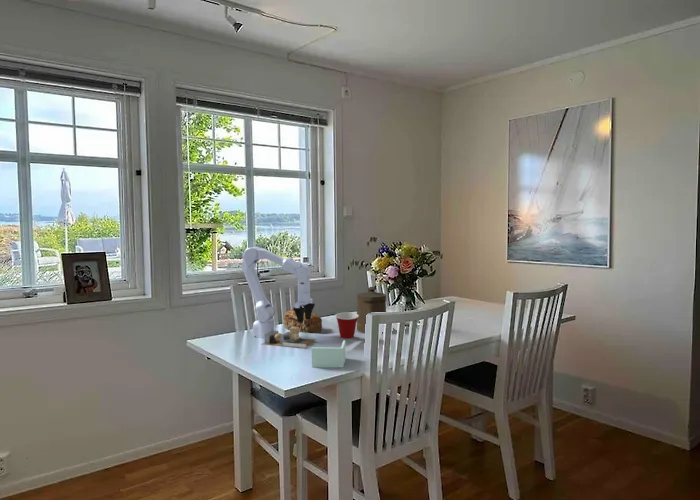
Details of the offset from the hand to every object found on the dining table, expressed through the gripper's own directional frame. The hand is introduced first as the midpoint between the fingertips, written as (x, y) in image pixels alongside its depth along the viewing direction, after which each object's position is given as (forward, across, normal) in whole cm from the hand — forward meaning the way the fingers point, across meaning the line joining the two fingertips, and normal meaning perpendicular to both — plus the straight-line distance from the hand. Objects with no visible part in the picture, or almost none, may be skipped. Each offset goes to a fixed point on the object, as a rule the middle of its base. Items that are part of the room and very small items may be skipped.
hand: (304, 320), depth 229 cm
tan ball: (+8, -11, +7) cm, 15 cm away
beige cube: (+8, -11, 0) cm, 14 cm away
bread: (+10, +19, +11) cm, 24 cm away
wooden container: (+10, +31, -22) cm, 39 cm away
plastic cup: (+10, +8, -18) cm, 22 cm away
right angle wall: (+10, -27, -24) cm, 38 cm away
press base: (+9, -11, +2) cm, 15 cm away
